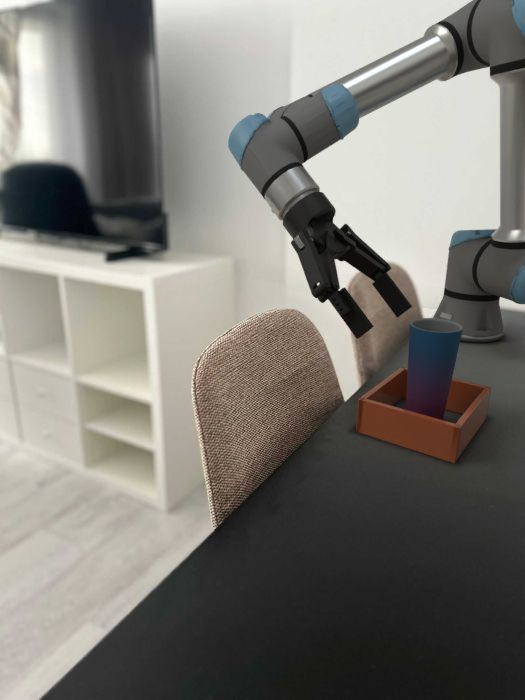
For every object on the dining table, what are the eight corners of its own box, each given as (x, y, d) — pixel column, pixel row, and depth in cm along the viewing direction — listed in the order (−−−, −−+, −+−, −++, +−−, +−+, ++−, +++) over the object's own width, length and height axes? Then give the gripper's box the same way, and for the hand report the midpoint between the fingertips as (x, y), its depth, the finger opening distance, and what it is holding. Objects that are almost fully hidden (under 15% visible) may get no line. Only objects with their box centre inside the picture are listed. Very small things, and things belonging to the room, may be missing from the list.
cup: (452, 421, 75) (467, 322, 70) (442, 440, 69) (457, 335, 64) (406, 410, 78) (417, 315, 73) (392, 428, 73) (403, 327, 68)
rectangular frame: (398, 395, 83) (402, 366, 82) (486, 418, 76) (491, 387, 74) (355, 431, 72) (358, 399, 70) (454, 463, 64) (460, 427, 62)
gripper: (326, 218, 88) (400, 318, 85) (234, 230, 69) (325, 359, 66) (356, 187, 83) (436, 291, 80) (266, 190, 64) (366, 327, 61)
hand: (386, 322), depth 73 cm, fingers open, 13 cm apart
